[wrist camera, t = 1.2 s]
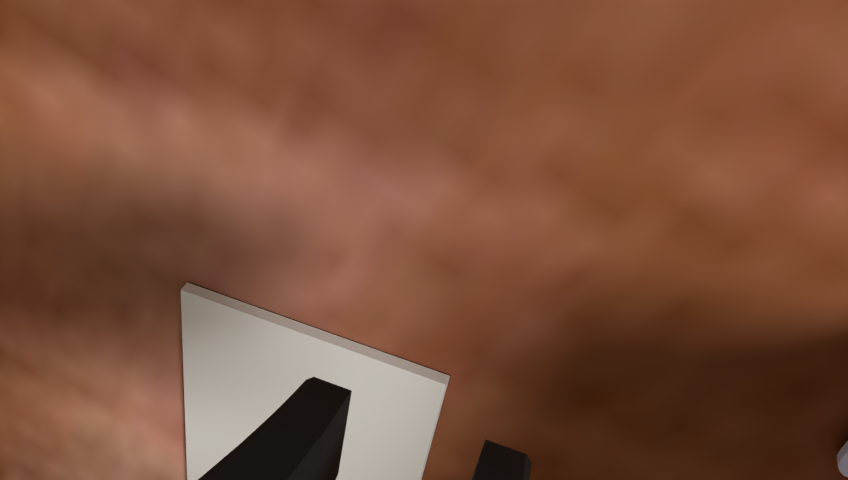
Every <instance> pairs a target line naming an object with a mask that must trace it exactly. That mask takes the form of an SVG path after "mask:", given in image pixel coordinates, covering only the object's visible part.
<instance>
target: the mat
mask: <svg viewBox="0 0 848 480" xmlns="http://www.w3.org/2000/svg"><path fill="white" fill-rule="evenodd" d="M181 315H182V344H183V373H184V402H185V430H186V459H187V480H198V479H199V478H200V477H202V476H203V475H204V474H205V473H206V472H208V471H209V470H210V469H211V468H212V467H213V466H215V465H216V464H217V463H218V462H219V461H220V460H222V459H223V458H224V457H225V456H226V455H227V454H229V453H230V452H231V451H232V450H233V449H235V448H236V447H237V446H238V445H239V444H240V443H242V442H243V441H244V440H245V439H246V438H247V437H248V436H249V435H250V434H251V433H252V432H254V431H255V430H256V429H257V428H258V427H259V426H260V425H261V424H262V423H263V422H264V421H266V420H267V419H268V418H269V417H270V416H271V415H272V414H273V413H274V412H275V411H276V410H277V409H278V408H279V407H280V406H281V405H282V404H283V403H284V402H285V401H286V400H287V399H288V398H289V397H290V396H291V395H292V394H293V393H294V392H295V391H296V390H297V389H298V388H299V387H300V386H301V385H302V383H303V382H304V381H305V380H306V379H309V378H312V377H316V378H319V379H321V380H324V381H327V382H330V383H332V384H335V385H338V386H341V387H343V388H346V389H349V390H351V391H352V392H351V399H350V405H349V411H348V417H347V423H346V429H345V435H344V442H343V448H342V454H341V460H340V466H339V472H338V476H337V478H336V480H422V476H423V473H424V469H425V465H426V462H427V458H428V454H429V451H430V447H431V443H432V440H433V436H434V433H435V429H436V425H437V422H438V418H439V414H440V411H441V407H442V403H443V400H444V396H445V392H446V389H447V385H448V382H449V378H450V376H449V375H446V374H443V373H441V372H438V371H435V370H432V369H429V368H427V367H424V366H421V365H418V364H415V363H413V362H410V361H407V360H404V359H401V358H398V357H396V356H393V355H390V354H387V353H384V352H382V351H379V350H376V349H373V348H370V347H368V346H365V345H362V344H359V343H356V342H353V341H351V340H348V339H345V338H342V337H339V336H337V335H334V334H331V333H328V332H325V331H323V330H320V329H317V328H314V327H311V326H309V325H306V324H303V323H300V322H297V321H294V320H292V319H289V318H286V317H283V316H280V315H278V314H275V313H272V312H269V311H266V310H264V309H261V308H258V307H255V306H252V305H249V304H247V303H244V302H241V301H238V300H235V299H233V298H230V297H227V296H224V295H221V294H219V293H216V292H213V291H210V290H207V289H205V288H202V287H199V286H196V285H193V284H190V283H188V282H187V283H186V284H185V286H184V287H183V288H182V289H181Z"/></svg>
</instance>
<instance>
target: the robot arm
mask: <svg viewBox="0 0 848 480" xmlns="http://www.w3.org/2000/svg"><path fill="white" fill-rule="evenodd" d="M351 392H352V391H351V390H349V389H346V388H343V387H341V386H338V385H335V384H332V383H330V382H327V381H324V380H321V379H319V378H316V377H312V378H309V379H306V380H305V381H304V382H303V383H302V385H301V386H300V387H299V388H298V389H297V390H296V391H295V392H294V393H293V394H292V395H291V396H290V397H289V398H288V399H287V400H286V401H285V402H284V403H283V404H282V405H281V406H280V407H279V408H278V409H277V410H276V411H275V412H274V413H273V414H272V415H271V416H270V417H269V418H268V419H267V420H266V421H264V422H263V423H262V424H261V425H260V426H259V427H258V428H257V429H256V430H255V431H254V432H252V433H251V434H250V435H249V436H248V437H247V438H246V439H245V440H244V441H243V442H242V443H240V444H239V445H238V446H237V447H236V448H235V449H233V450H232V451H231V452H230V453H229V454H227V455H226V456H225V457H224V458H223V459H222V460H220V461H219V462H218V463H217V464H216V465H215V466H213V467H212V468H211V469H210V470H209V471H208V472H206V473H205V474H204V475H203V476H202V477H200V478H199V479H198V480H336V478H337V476H338V472H339V466H340V460H341V454H342V448H343V442H344V435H345V429H346V423H347V417H348V411H349V405H350V399H351ZM837 463H838V468H839V471H840V472H841V473H842V474H843V475H844V476H846V477H848V441H847V442H846V443H845V444H844V446H843V447H842V448H841V449H840V451H839V452H838V454H837ZM531 464H532V462H531V461H530V459H529V458H528V456H527V455H526V454H524V453H521V452H518V451H516V450H513V449H510V448H507V447H505V446H502V445H499V444H496V443H494V442H491V441H488V440H485V443H484V445H483V448H482V451H481V454H480V457H479V460H478V463H477V466H476V469H475V472H474V475H473V478H472V480H529V478H530V470H531Z"/></svg>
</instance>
